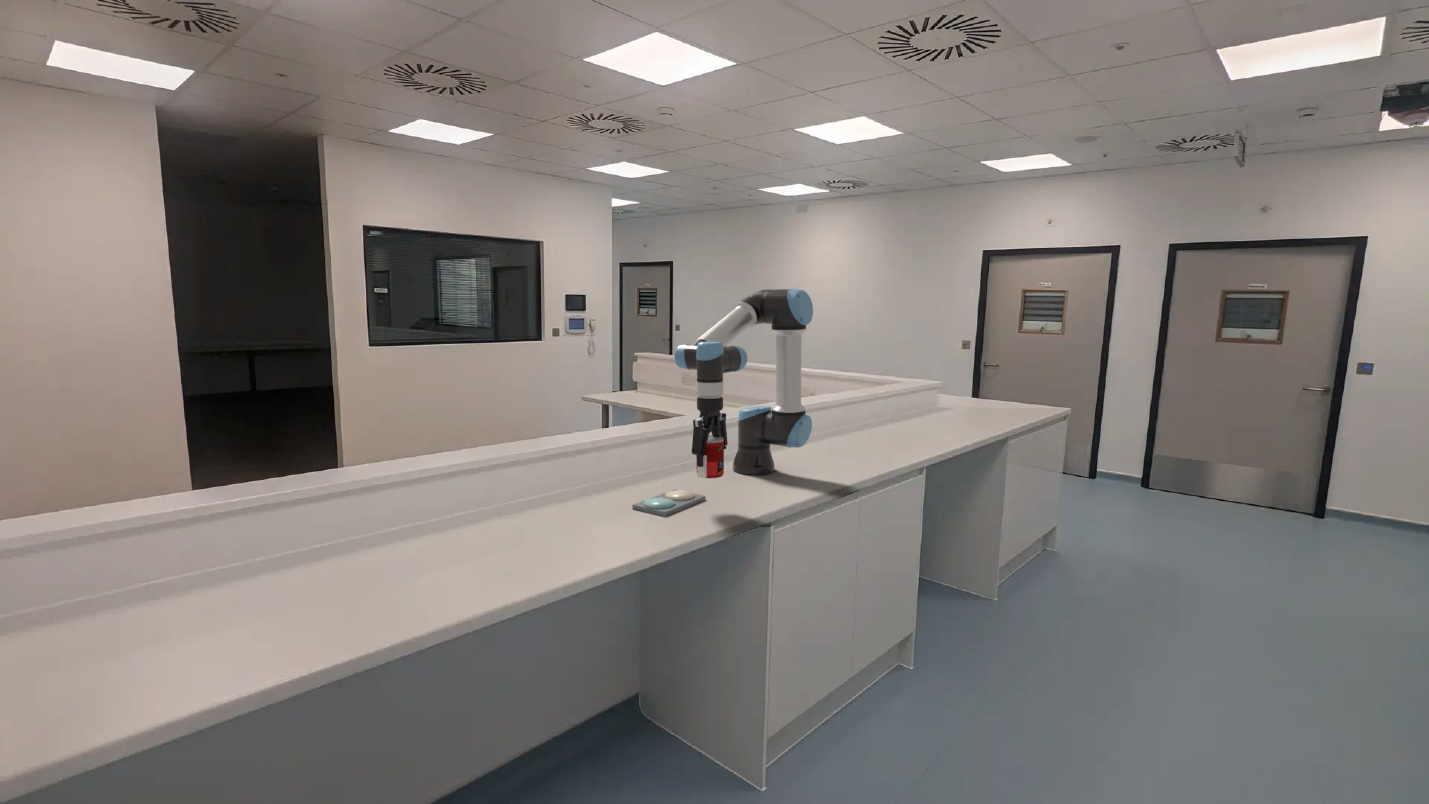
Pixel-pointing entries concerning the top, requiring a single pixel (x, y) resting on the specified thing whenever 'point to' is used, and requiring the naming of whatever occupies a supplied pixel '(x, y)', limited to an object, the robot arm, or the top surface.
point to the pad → (659, 503)
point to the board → (680, 498)
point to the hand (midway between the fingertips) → (710, 473)
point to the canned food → (714, 456)
